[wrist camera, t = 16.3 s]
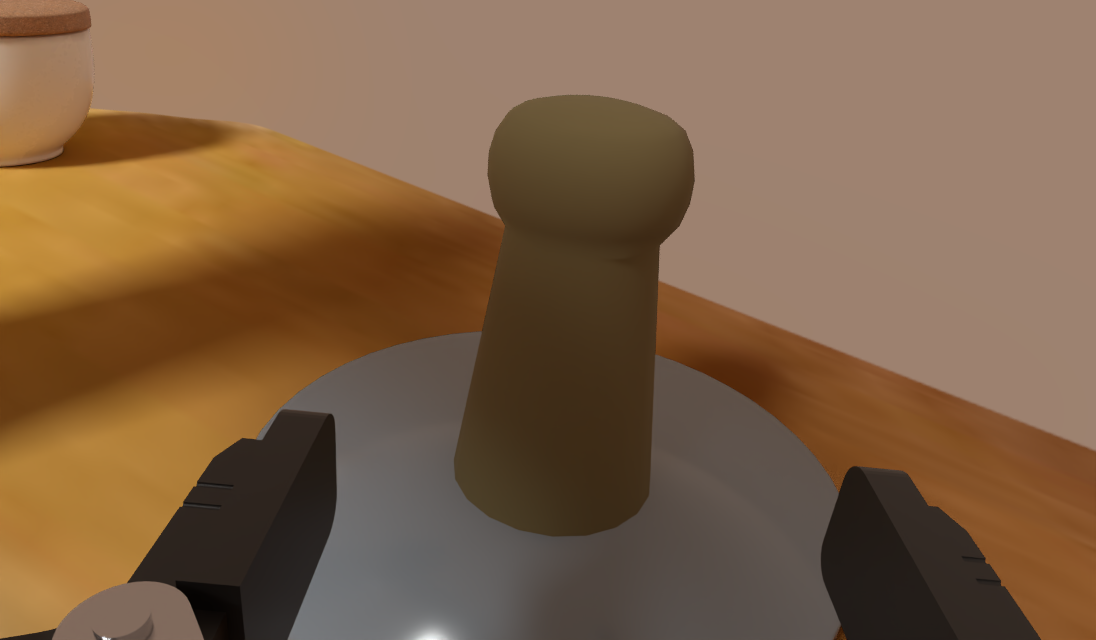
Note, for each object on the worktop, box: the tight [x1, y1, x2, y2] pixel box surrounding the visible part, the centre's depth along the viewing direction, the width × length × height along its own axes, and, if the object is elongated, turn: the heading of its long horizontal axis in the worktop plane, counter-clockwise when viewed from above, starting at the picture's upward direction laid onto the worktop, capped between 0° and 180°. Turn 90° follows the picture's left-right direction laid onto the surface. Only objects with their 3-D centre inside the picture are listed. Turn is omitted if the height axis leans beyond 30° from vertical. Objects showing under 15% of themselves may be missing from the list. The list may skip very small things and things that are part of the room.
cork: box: [454, 95, 695, 537], centre depth 21 cm, size 6×6×11 cm
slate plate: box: [256, 331, 841, 640], centre depth 24 cm, size 18×18×1 cm
